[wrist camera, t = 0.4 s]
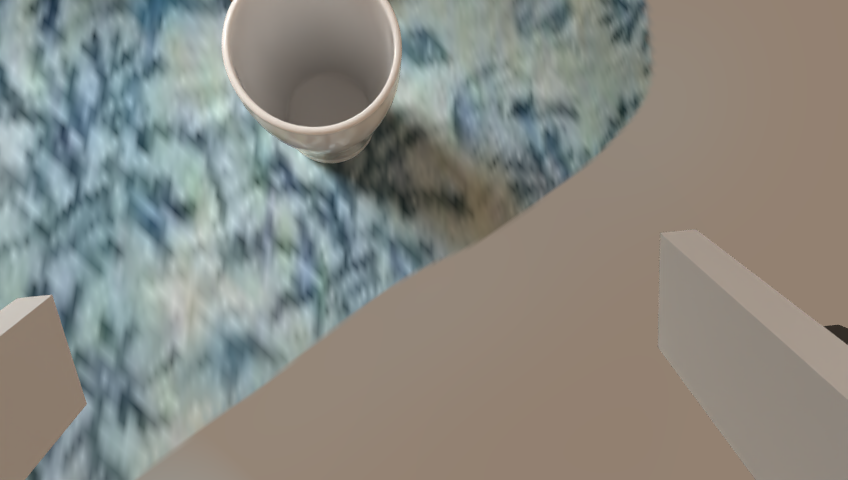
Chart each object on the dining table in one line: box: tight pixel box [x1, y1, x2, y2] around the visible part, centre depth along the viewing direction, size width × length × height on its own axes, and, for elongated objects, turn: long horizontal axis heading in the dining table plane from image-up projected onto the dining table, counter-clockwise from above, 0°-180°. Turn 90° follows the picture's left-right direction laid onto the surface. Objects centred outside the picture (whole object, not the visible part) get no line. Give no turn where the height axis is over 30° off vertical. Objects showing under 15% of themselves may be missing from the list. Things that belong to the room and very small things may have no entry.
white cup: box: [222, 0, 402, 163], centre depth 32 cm, size 7×7×15 cm
